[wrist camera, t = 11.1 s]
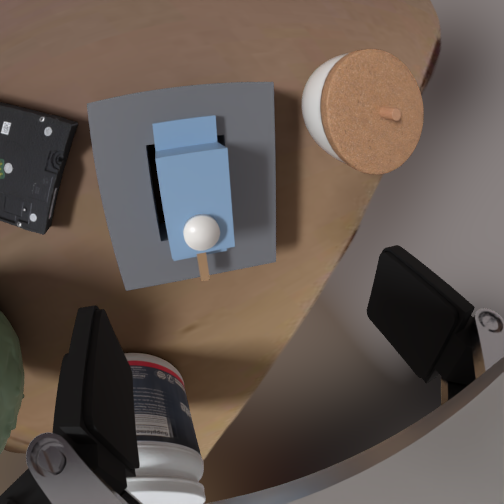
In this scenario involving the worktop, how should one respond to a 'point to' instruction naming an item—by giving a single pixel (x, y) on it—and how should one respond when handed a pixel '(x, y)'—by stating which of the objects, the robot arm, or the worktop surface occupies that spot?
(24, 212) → the disk drive
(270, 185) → the plate
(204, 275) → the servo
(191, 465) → the supplement tub
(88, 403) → the robot arm
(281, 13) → the worktop surface
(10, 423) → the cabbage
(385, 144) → the lidded jar
